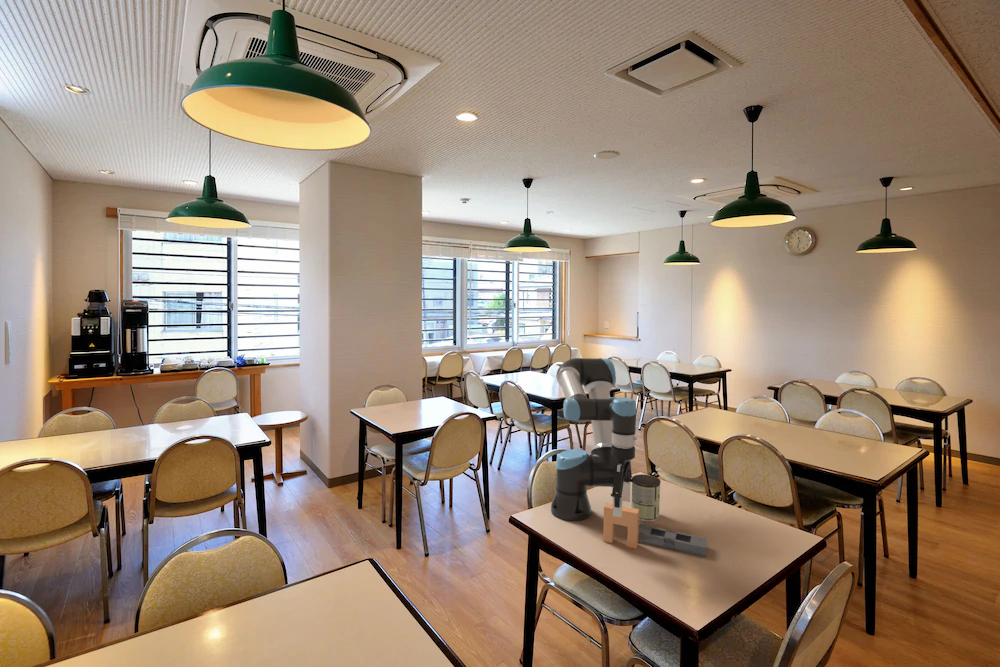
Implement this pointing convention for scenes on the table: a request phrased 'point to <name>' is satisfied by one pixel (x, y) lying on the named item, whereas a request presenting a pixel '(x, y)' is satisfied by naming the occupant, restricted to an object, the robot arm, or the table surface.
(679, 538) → the rail
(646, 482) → the coffee can
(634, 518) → the tan wooden block
